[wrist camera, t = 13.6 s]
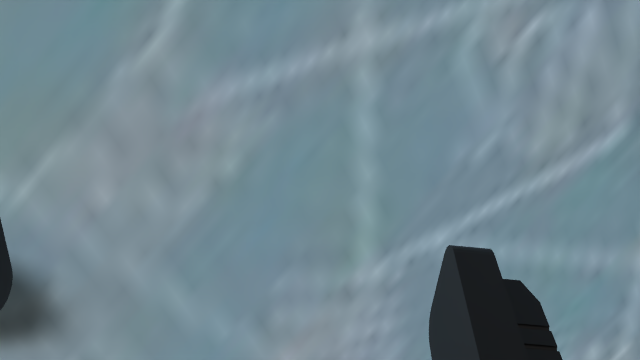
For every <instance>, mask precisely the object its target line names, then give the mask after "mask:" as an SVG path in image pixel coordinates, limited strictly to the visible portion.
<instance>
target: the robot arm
mask: <svg viewBox="0 0 640 360" xmlns="http://www.w3.org/2000/svg"><path fill="white" fill-rule="evenodd" d="M11 286H12V267H11V262H10V258H9V254H8V249H7V245H6V241H5V236H4V232H3V228H2V224H1V219H0V310H1V309H2V307H3V306H4V304H5V303H6V301H7V299H8V296H9V294H10V290H11ZM429 343H430V350H431V357H432V360H562V357H561V355H560V352H559V351H557V345H556V342H555V339H554V337H553V334H552V332H551V331H549V324H548V322H547V319H546V317H545V314H544V311H543V309H542V306H541V304H540V302H539V301H538V300H537V299H536V297H535V296H534V295H533V294H532V293H531V292H530V291H529V290H528V289H527V288H526V287H525V286H524V284H523V283H522V282H521V281H520V280H509V279H502V276H501V273H500V270H499V267H498V264H497V261H496V258H495V255H494V253H493V251H492V250H491V249H485V248H474V247H463V246H452V245H449V246H448V247H447V249H446V251H445V254H444V258H443V262H442V266H441V270H440V274H439V278H438V282H437V286H436V291H435V295H434V299H433V303H432V307H431V312H430V320H429Z"/></svg>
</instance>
